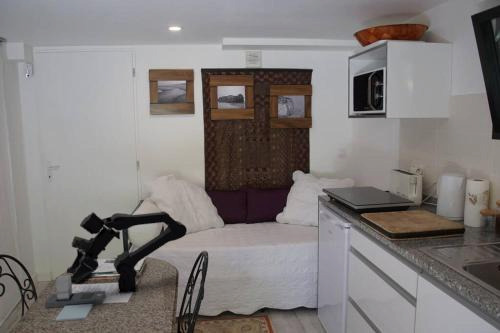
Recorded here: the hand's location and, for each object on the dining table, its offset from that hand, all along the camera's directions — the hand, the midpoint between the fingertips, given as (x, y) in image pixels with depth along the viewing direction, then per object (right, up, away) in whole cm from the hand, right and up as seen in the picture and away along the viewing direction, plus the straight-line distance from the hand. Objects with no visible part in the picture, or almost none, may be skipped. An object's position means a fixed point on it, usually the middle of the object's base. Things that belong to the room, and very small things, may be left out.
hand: (71, 273), depth 147 cm
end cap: (-6, -9, +22) cm, 24 cm away
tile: (+5, -12, -8) cm, 15 cm away
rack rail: (+1, -11, +1) cm, 11 cm away
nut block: (-2, -11, 0) cm, 11 cm away
